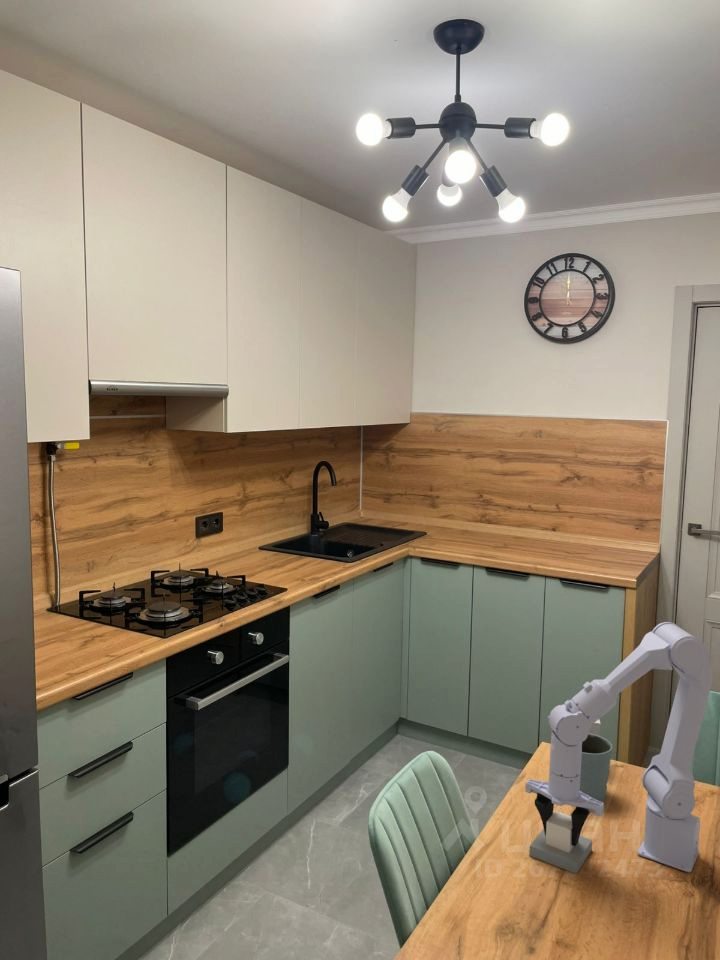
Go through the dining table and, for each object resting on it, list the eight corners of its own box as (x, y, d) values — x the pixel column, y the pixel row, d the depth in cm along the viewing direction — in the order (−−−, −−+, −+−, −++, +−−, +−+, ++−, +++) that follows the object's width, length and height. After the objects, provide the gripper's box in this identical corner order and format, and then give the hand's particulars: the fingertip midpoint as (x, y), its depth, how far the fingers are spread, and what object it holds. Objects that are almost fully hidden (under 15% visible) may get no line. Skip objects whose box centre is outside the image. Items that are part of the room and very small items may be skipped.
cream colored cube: (577, 841, 139) (578, 818, 139) (569, 852, 135) (570, 829, 135) (554, 832, 142) (555, 810, 141) (545, 843, 138) (546, 821, 137)
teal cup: (607, 786, 164) (610, 735, 162) (612, 810, 154) (615, 756, 153) (560, 780, 166) (563, 729, 165) (562, 803, 156) (565, 750, 155)
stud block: (591, 849, 140) (592, 830, 139) (576, 873, 132) (577, 853, 132) (546, 833, 145) (547, 814, 144) (529, 855, 137) (530, 835, 137)
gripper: (520, 767, 138) (517, 834, 139) (597, 791, 130) (593, 863, 131) (534, 753, 144) (531, 818, 145) (608, 775, 135) (604, 844, 137)
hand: (561, 838), depth 138 cm, fingers closed on cream colored cube, 5 cm apart
